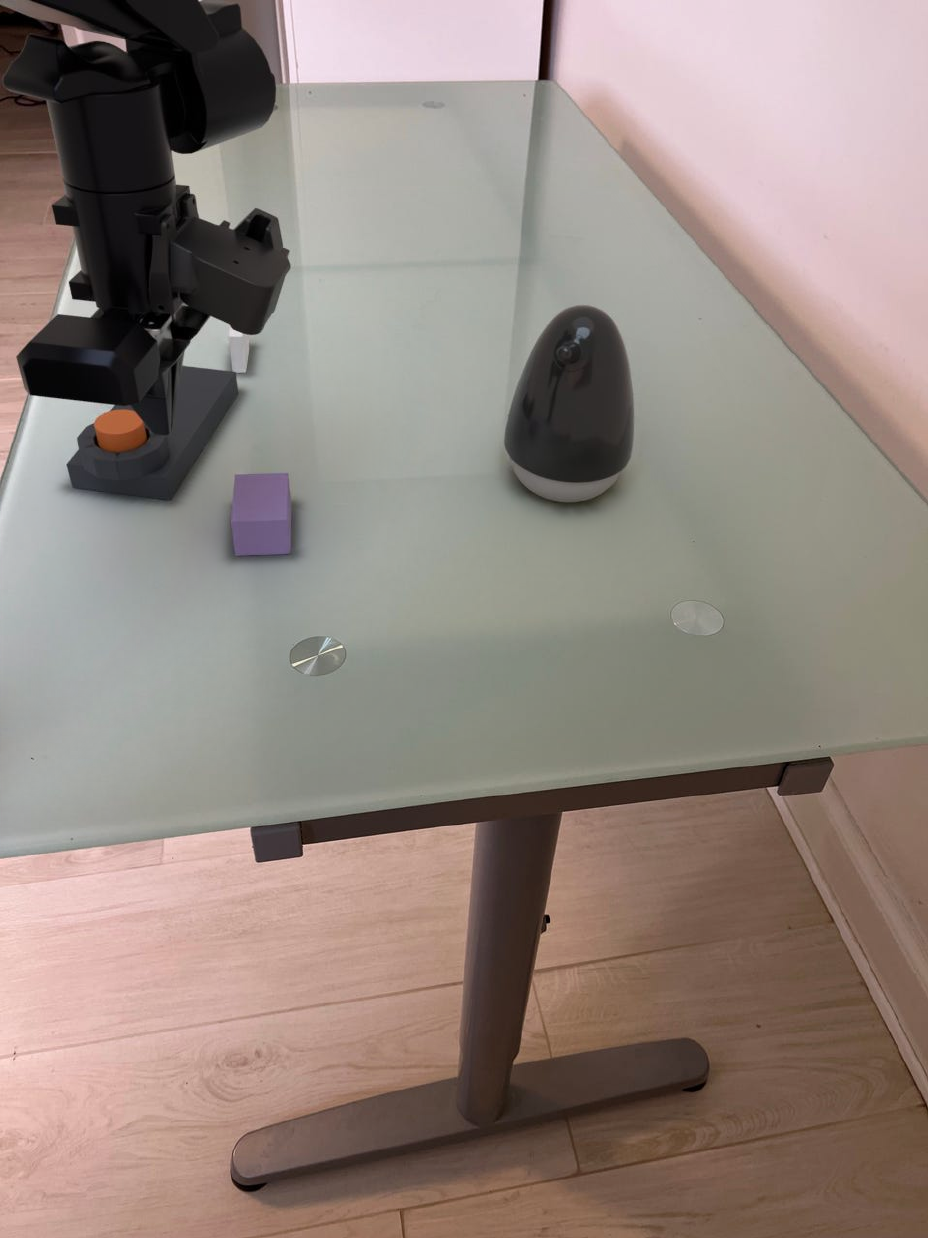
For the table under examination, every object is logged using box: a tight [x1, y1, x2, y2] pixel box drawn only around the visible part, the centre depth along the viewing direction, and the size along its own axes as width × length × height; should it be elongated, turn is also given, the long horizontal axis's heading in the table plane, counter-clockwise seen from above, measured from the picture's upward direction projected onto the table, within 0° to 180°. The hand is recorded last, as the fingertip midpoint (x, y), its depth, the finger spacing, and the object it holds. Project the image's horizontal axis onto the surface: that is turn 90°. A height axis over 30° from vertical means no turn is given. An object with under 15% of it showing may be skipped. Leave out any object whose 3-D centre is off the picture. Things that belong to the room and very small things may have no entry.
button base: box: [66, 365, 239, 501], centre depth 82 cm, size 18×8×4 cm, turn 172°
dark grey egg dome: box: [503, 304, 635, 503], centre depth 76 cm, size 10×10×15 cm
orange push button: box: [93, 410, 147, 452], centre depth 76 cm, size 4×4×2 cm
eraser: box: [228, 325, 250, 374], centre depth 93 cm, size 1×5×4 cm, turn 5°
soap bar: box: [230, 472, 292, 557], centre depth 74 cm, size 6×4×3 cm, turn 7°
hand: (163, 432), depth 63 cm, fingers closed
